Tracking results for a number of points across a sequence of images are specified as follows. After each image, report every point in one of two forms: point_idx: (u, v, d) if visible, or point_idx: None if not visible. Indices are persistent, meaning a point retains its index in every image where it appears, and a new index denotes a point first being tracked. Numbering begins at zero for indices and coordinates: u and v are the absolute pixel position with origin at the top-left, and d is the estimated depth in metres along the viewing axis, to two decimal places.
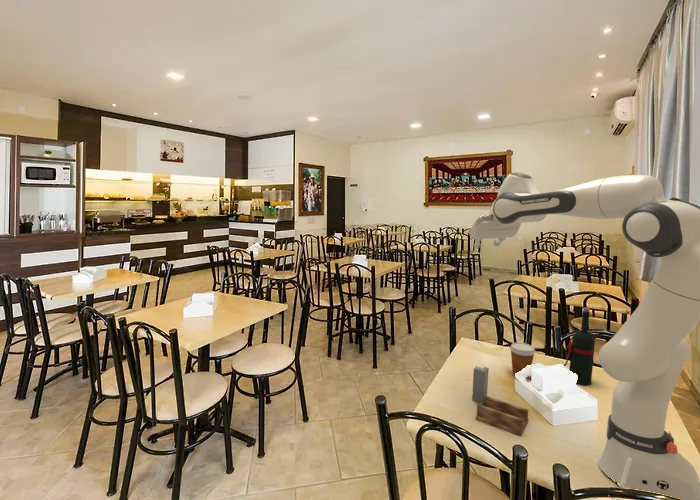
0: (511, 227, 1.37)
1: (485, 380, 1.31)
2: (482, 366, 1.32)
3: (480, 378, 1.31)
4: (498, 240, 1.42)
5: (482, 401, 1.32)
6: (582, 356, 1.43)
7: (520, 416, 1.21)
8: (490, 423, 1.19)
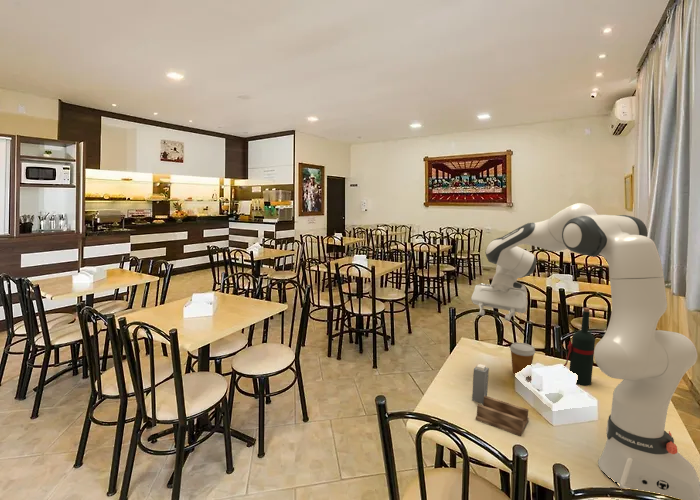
0: (516, 297, 1.39)
1: (485, 380, 1.31)
2: (482, 366, 1.32)
3: (480, 378, 1.31)
4: None
5: (482, 401, 1.32)
6: (582, 356, 1.43)
7: (520, 416, 1.21)
8: (490, 423, 1.19)
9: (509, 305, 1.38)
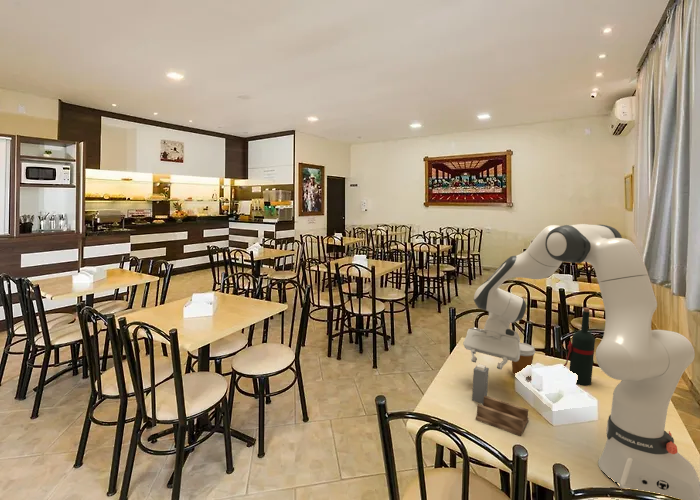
0: (508, 344, 1.36)
1: (485, 380, 1.31)
2: (482, 366, 1.32)
3: (480, 378, 1.31)
4: None
5: (482, 401, 1.32)
6: (582, 356, 1.43)
7: (520, 416, 1.21)
8: (490, 423, 1.19)
9: (501, 353, 1.35)
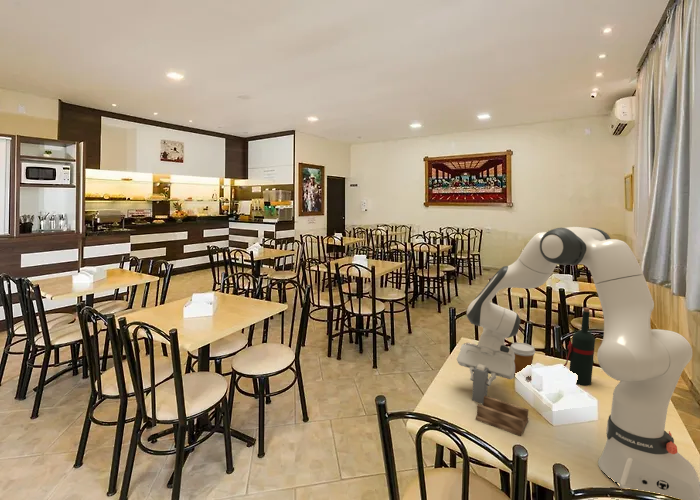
0: (503, 361, 1.32)
1: (485, 380, 1.31)
2: (482, 366, 1.32)
3: (480, 378, 1.31)
4: None
5: (482, 401, 1.32)
6: (582, 356, 1.43)
7: (520, 416, 1.21)
8: (490, 423, 1.19)
9: (496, 371, 1.31)
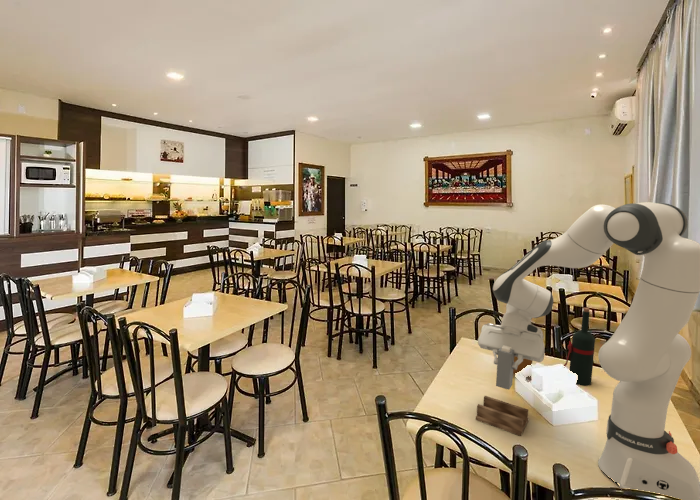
0: (531, 342, 1.18)
1: (511, 363, 1.17)
2: (507, 347, 1.18)
3: (506, 361, 1.17)
4: None
5: (508, 387, 1.18)
6: (582, 356, 1.43)
7: (520, 416, 1.21)
8: (490, 423, 1.19)
9: (523, 352, 1.17)
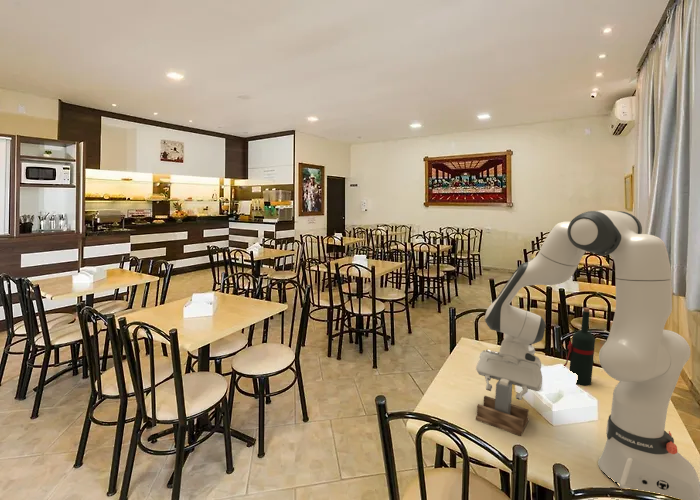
0: (528, 371, 1.20)
1: (509, 396, 1.19)
2: (505, 381, 1.20)
3: (504, 394, 1.19)
4: None
5: None
6: (582, 356, 1.43)
7: (520, 416, 1.21)
8: (490, 423, 1.19)
9: (521, 381, 1.19)
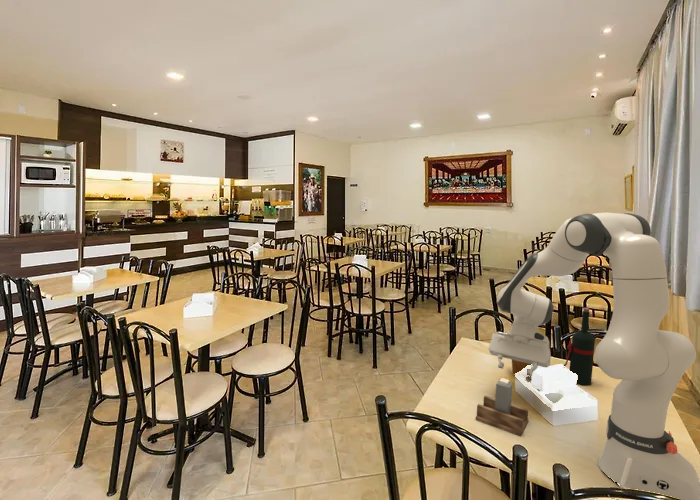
0: (538, 349, 1.29)
1: (509, 396, 1.19)
2: (505, 381, 1.20)
3: (504, 394, 1.19)
4: None
5: None
6: (582, 356, 1.43)
7: (520, 416, 1.21)
8: (490, 423, 1.19)
9: (531, 358, 1.28)
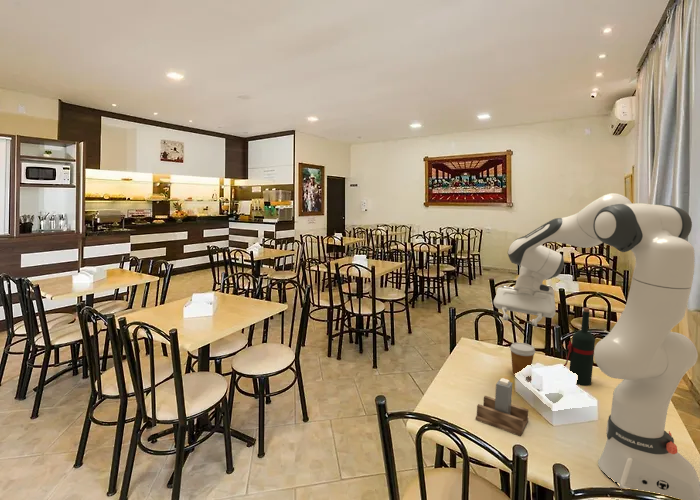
0: (543, 300, 1.29)
1: (509, 396, 1.19)
2: (505, 381, 1.20)
3: (504, 394, 1.19)
4: None
5: None
6: (582, 356, 1.43)
7: (520, 416, 1.21)
8: (490, 423, 1.19)
9: (536, 309, 1.28)
